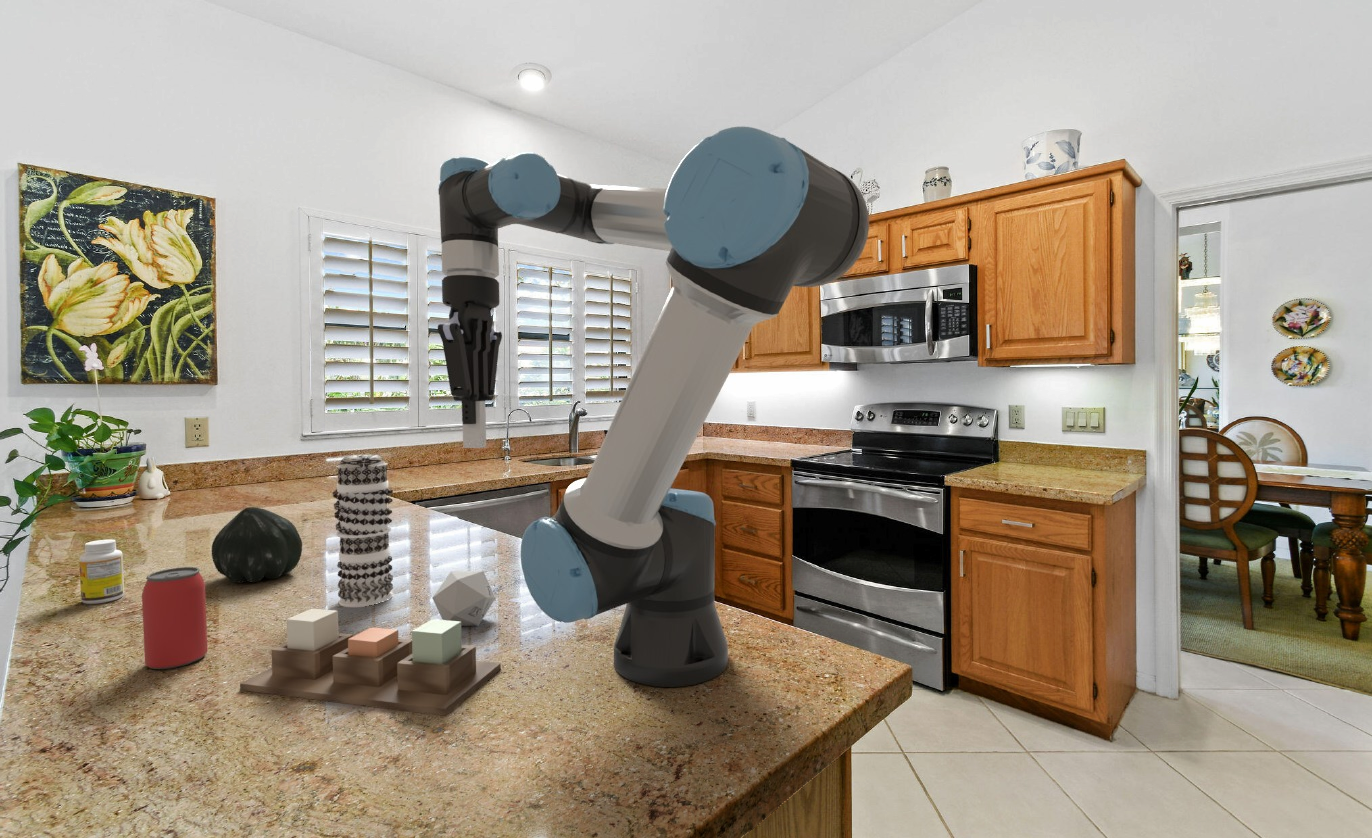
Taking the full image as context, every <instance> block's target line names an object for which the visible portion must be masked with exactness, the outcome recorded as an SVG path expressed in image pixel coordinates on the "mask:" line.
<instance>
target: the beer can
mask: <svg viewBox="0 0 1372 838" xmlns="http://www.w3.org/2000/svg"><path fill="white" fill-rule="evenodd" d="M200 571H201V570H200V568H198V567H194V566H185V567H183V566H182V567H174V568H167V569H163V570H157V571H155V572H151V573H150V574H148V575H147V576H146V581H145V585H144V586H143V589H142V594H141V599H142V600H141V602H142V627H143V648H144V649H143V651H144V664H145V665H146V666H147V667H148V668H149V669H153V670H167V669H168V670H170V669H174V668H175V669H176V668H180V667H185V666H187V665H189V664H192V663H195V662H197V661H199V660H201V659H202V658H204V656H205V655H206V654H207V652H208V629H207V627H208V626H207V608H206V607H207V604H206V599H207V598H206V582H205V581H204V577H203V576H202V574H201V572H200Z"/></svg>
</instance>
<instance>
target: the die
mask: <svg viewBox="0 0 1372 838" xmlns="http://www.w3.org/2000/svg"><path fill="white" fill-rule="evenodd" d="M432 600H433V602H434V604H435V607H436V610H437V611H438V613H439V614H440V618H441V620H449V621H460V622H461V627H463V626H465V627H474V626H475V627H476V626H477V627H478V626H480V625H481V623H482V621H483V619H484V618H485V616H486V615H487V613H488V611H489V609H491V607H492V605H493V604H494V601H495V600H496V597H495V595H494V592H493V590H492V587H491V584H490V583H489V581H488V578H487V576H486V574H485V572H484V570H471V571H470V570H469V571H468V570H466V571H465V570H464V571H463V570H462V571H459V570H458V571H456V570H455V571H454V570H452V571H450V572H449V574H448V575H447V576H446V578H445V579H444V581H443V582H442V584H441V585H440V586H439V588H438V589H437V590H436V591H435V593H434V594H433V596H432Z"/></svg>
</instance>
